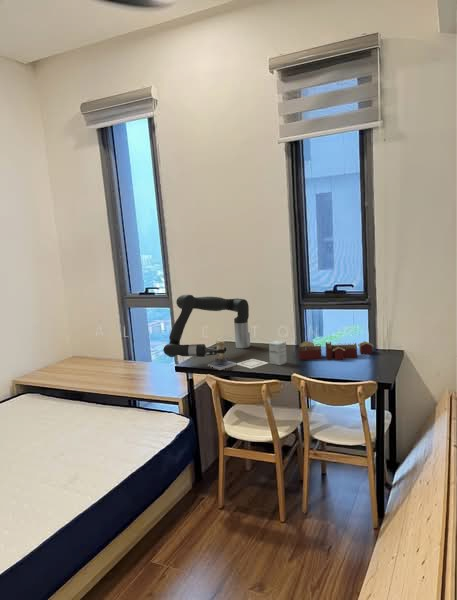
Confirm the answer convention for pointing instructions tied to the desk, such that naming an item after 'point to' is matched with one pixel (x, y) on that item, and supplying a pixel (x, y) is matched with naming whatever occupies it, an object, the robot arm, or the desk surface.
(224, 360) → the stamp
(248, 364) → the card sheet
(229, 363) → the ink pad
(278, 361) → the supplement box
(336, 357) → the toy houses
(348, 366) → the desk surface
